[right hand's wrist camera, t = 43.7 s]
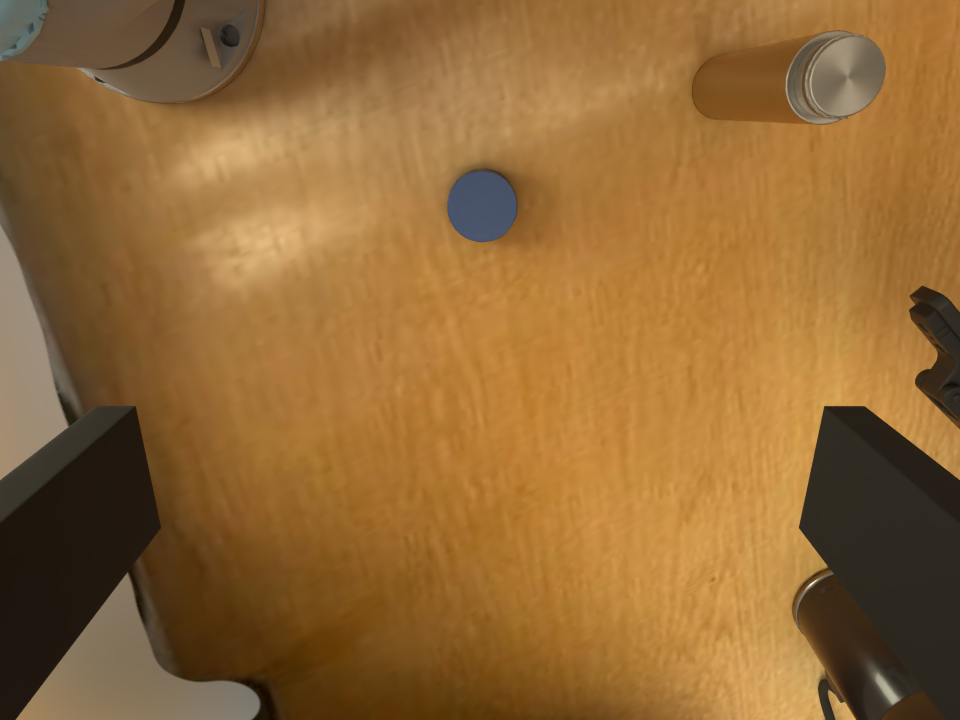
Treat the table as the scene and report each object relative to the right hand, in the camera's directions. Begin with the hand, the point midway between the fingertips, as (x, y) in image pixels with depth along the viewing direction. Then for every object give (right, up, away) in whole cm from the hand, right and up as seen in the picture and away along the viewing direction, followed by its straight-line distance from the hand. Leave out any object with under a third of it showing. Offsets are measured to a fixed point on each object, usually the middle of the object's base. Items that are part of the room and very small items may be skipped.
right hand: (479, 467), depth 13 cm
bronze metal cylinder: (+18, +22, +35) cm, 45 cm away
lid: (0, +14, +37) cm, 39 cm away
